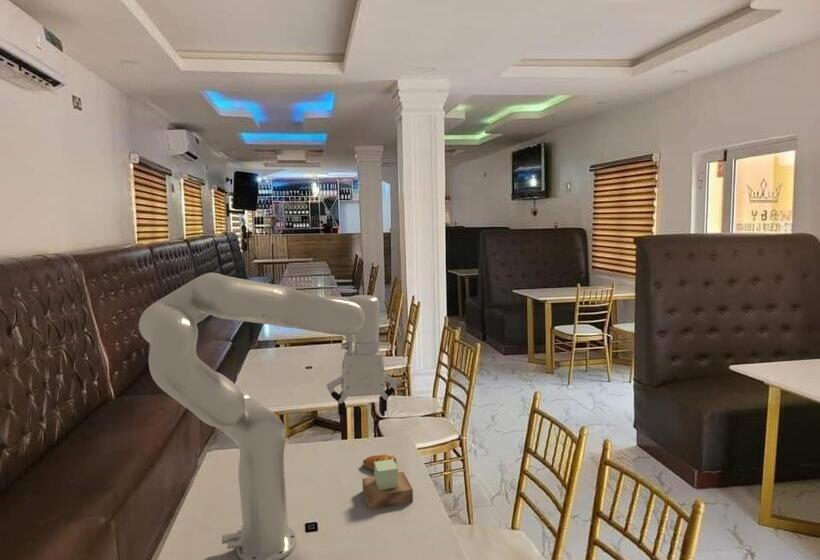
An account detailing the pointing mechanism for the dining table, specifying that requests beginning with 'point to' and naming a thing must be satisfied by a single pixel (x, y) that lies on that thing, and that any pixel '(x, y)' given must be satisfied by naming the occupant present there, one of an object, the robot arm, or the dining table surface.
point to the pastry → (370, 460)
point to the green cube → (386, 474)
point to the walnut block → (387, 493)
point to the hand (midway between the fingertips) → (362, 415)
